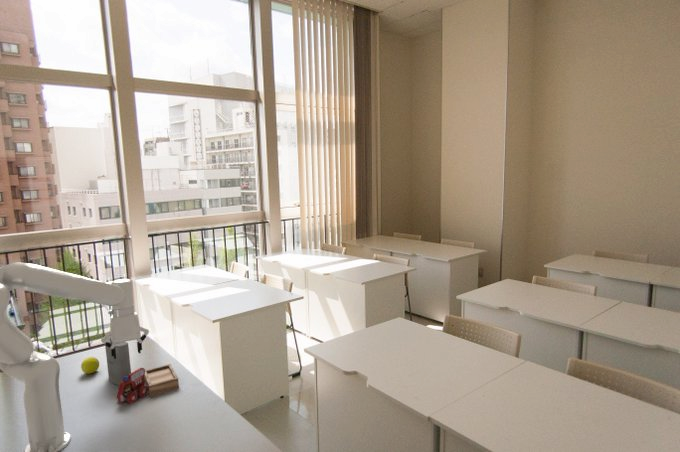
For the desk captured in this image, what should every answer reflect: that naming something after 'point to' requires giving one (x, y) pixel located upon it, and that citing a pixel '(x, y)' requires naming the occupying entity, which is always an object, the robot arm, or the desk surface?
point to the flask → (118, 362)
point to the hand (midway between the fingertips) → (127, 354)
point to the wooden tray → (161, 379)
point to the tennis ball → (90, 365)
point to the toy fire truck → (132, 386)
